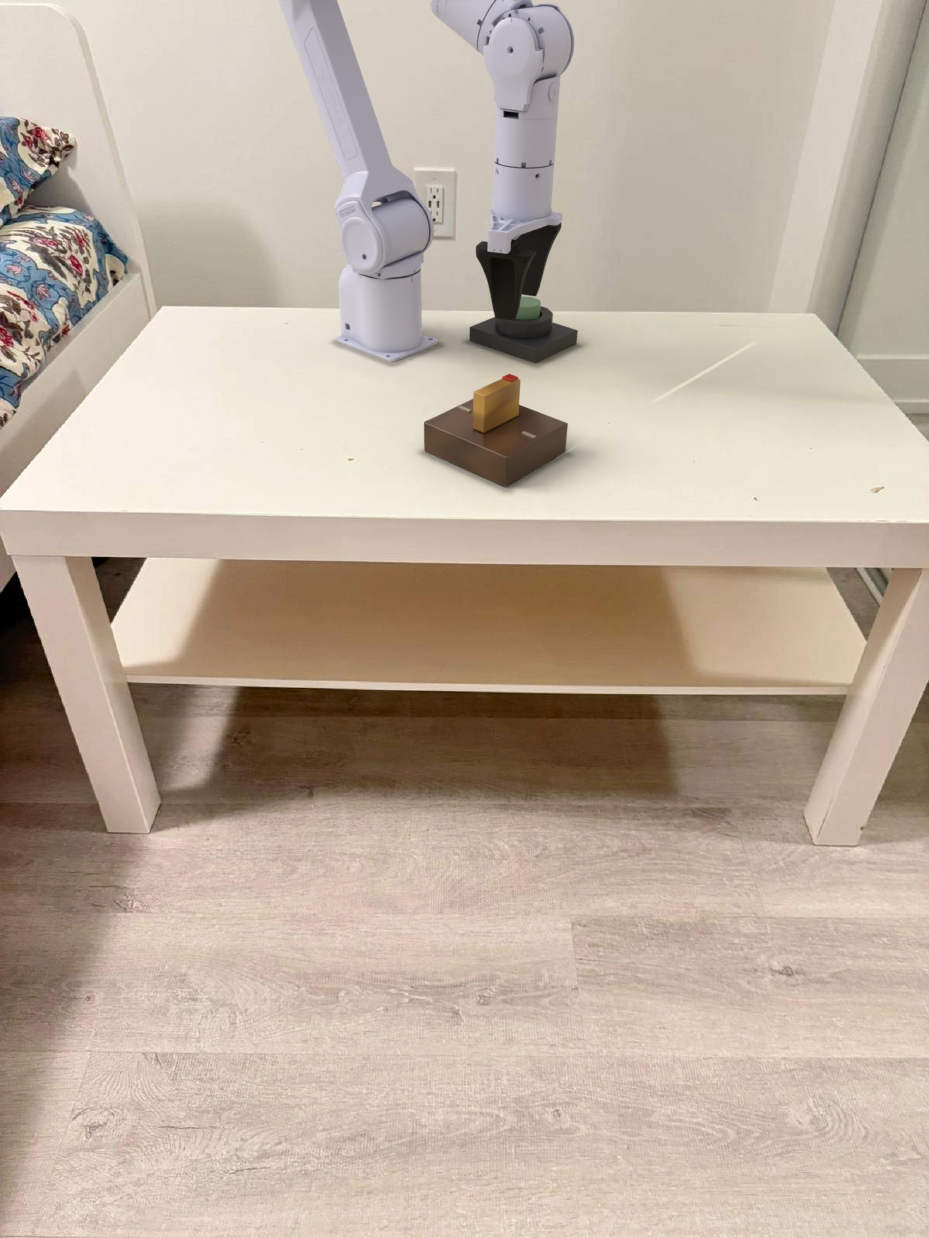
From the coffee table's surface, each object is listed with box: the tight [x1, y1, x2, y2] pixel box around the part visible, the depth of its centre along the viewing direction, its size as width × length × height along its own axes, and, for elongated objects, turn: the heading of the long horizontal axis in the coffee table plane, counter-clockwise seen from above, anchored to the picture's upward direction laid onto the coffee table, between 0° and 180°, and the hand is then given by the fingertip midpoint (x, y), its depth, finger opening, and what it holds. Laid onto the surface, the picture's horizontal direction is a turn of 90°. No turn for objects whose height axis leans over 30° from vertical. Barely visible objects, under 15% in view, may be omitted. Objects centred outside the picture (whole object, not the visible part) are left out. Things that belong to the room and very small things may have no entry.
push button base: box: [468, 305, 579, 364], centre depth 103 cm, size 10×8×4 cm
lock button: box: [516, 295, 542, 320], centre depth 102 cm, size 4×4×2 cm
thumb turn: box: [472, 373, 521, 433], centre depth 80 cm, size 5×1×4 cm, turn 138°
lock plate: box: [423, 398, 569, 488], centre depth 82 cm, size 10×9×3 cm
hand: (516, 306), depth 91 cm, fingers open, 7 cm apart
